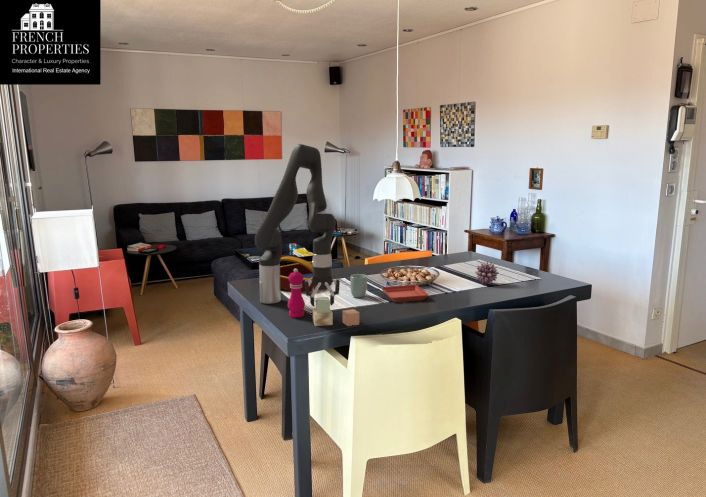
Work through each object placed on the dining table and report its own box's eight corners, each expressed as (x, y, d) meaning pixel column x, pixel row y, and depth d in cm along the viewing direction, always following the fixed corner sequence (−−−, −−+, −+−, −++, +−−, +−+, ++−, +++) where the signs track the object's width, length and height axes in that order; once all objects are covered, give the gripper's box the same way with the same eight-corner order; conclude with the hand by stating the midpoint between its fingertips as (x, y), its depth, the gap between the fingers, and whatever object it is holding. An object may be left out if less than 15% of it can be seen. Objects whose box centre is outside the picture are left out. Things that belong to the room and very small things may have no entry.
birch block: (315, 326, 210) (314, 314, 209) (312, 320, 216) (312, 308, 215) (332, 325, 211) (332, 313, 210) (329, 319, 218) (329, 307, 217)
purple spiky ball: (500, 283, 276) (502, 261, 273) (493, 288, 266) (494, 265, 263) (479, 280, 282) (480, 258, 279) (471, 285, 272) (472, 262, 269)
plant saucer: (391, 304, 240) (391, 297, 240) (380, 293, 258) (380, 286, 257) (429, 301, 244) (429, 294, 244) (415, 291, 262) (415, 284, 261)
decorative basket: (253, 288, 274) (249, 260, 269) (294, 270, 295) (290, 244, 290) (299, 301, 252) (295, 272, 248) (339, 281, 273) (337, 253, 268)
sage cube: (317, 313, 210) (317, 301, 209) (315, 309, 215) (315, 297, 214) (329, 312, 211) (329, 300, 210) (327, 308, 216) (327, 296, 215)
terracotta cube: (347, 326, 210) (348, 314, 209) (342, 322, 214) (342, 310, 213) (359, 324, 212) (359, 312, 211) (353, 320, 216) (353, 309, 215)
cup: (365, 299, 246) (365, 278, 244) (348, 298, 248) (348, 277, 246) (368, 294, 254) (368, 274, 252) (352, 293, 255) (352, 273, 253)
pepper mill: (288, 312, 226) (287, 266, 222) (305, 312, 226) (304, 266, 223) (287, 318, 219) (286, 270, 215) (305, 317, 219) (304, 270, 216)
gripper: (304, 267, 204) (305, 309, 207) (341, 265, 207) (341, 307, 210) (302, 263, 211) (303, 303, 215) (338, 261, 214) (338, 301, 217)
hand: (322, 305), depth 212 cm, fingers open, 6 cm apart
